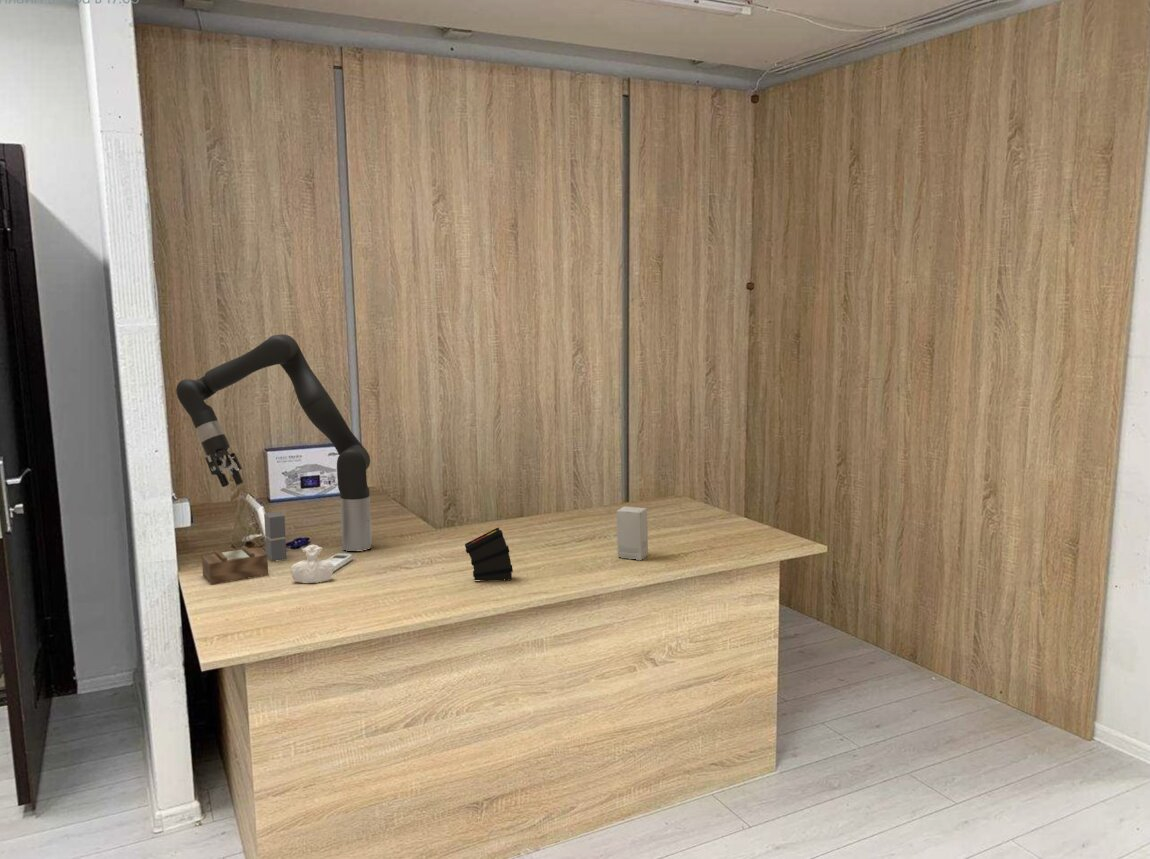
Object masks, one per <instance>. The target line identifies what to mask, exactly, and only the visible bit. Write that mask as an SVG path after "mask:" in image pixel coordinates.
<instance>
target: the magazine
mask: <svg viewBox="0 0 1150 859" xmlns="http://www.w3.org/2000/svg"><path fill="white" fill-rule="evenodd" d="M464 548H465V552H466V554H468V555H469V557H470V559H471V560H470V563H471V566H473V567H472V568H473V571H472V577H473V579H474V580H501V581H509V580H508V579H513V577H512V576H513V574H512V573H513V572H514V570H513V569H514V568H513V564H512V562H511V557H510V547H509V545H507V542H506V540H505V538H504V534H503V531H502V529H500V528H499V527H496V528H494V529H491V530H490V531H488V532H486V533H484V534H482V535H480V536H478V537H475V539H472V540H470V541H468V542H466V543H464ZM504 579H505V580H504Z"/></svg>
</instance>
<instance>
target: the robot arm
mask: <svg viewBox="0 0 1150 859" xmlns="http://www.w3.org/2000/svg"><path fill="white" fill-rule="evenodd" d="M277 365H280V367H281V368H282V369H283V370H284V371H285V373H286V375H287V376H288V377H289V379H290V380H291V383H292V385H293V388H294V392H295V395H296V398H297V400H298V402H299V405H300V407H301V409H302V410H303V412H304V413H305V415H306V416H307V418H308V419H309V421H310V422H311V424H312V425H314V427H315V428H316V429H317V430H319V431H320V432H321V434H323V435H324V436H325V437H326V438H327V440H329V441H330V442H331V444H332V445H333V447H334V448H335V451H336V452H337V453H338V457H337V459H336V460H337V461H336V475H337V488H338V491H339V501H340V503H339V504H340V505H339V506H340V526H341V527H340V528H341V548H342V549H343V550H346V551H345V552H347V551H357V550H364V549H368V548H371V549H372V546H371V545H373V538H372V518H371V503H370V502H371V501H370V495H371V494H370V488H369V486H368V479H367V478H368V477H367V470H368V469H369V468H370V464H371V457H370V454H369V452H368V450H367V449H366V448H365V447H364V446H363V444H362V443H361V442H360V441H359V439H358V438H357V437H356V435H355V434H354V433H353V432H352V430H351V429H350V428H349V425H348V424H347V423H346V420H345V419H344V416H343V415H342V413H341V412H340V410H339V409H338V407H337V406H336V404H335V402H334V400H333V398H331V396H330V394H329V393H328V392H327V390H326V389H325V387H324V386H323V384H322V383H321V381H320V380H319V379H318V377H317V376H316V374H315V373H314V372H313V370H312V369H311V367H310V366H309V364H308V362H307V360H306V358H305V356H304V354H303V352H302V350H301V348H300V346H299V344H298V342H297V341H296V340H295V339H294V338H293V337H292V336H290V335H288V334H283V333H282V334H275V335H272V336H271V335H270V336H269V337H268V338H267V339H265V340H264V341H262V342H261V343H260V344H258V345H257V346H256V347H254V348H252V349H251V350H250V351H247V352H246V353H244V354H243V355H239V356H237V357H236V358H233V359H231V360H229V361H228V360H227V361H226V362H224V363H222V364H220V365H218V366H215V367H213V368H211V369H208V371H206V372H205V373H204V374H203V375H204V376H202V377H200V378H198V379H196V380H195V379H190V378H189V379H187V378H185V379H181V381H179V382H178V383H177V385H176V388H175V392H176V396H177V399H178V400H179V402H180V404H181V405H182V407H183V409H184V410H185V411H186V413H187V414H188V415H189V416H190V418H191V419H190V420H191V421H192V424H193V426H194V428H195V431H196V434H197V437H198V440H199V442H200V444H201V446H202V449H203V451H204V453H205V455H206V457H205V458H204V459H205V461H206V464H207V466H208V468H209V472H210V474H211V475H212V476H214V475H215V477H217V478H218V481H219V483H220V485H221V487H222V488H225V487H228V486H229V484H230V483H229V480H228V478H227V476H226V473H225V470H226V471H228V472H229V473H230V474H232V475H231V476H232V478H233V480H234V483H235V485H236V486H237V485H241V484H243V482H244V480H243V478H242V476H241V474H240V470H242V469H243V468H242V465H241V464H240V461H239V459H238V456H237V454H236V452H231V453H229V451H228V450H229V449H230V446H231V445H230V443H229V441H228V438H227V437H226V436H227V435H226V434H225V431H224V429H223V427H222V425H221V423H220V422H219V420H218V417H217V415H216V413H215V411H214V409H213V407H211V405H208V404H207V403H206V402H205V400H207V399H209V398H211V397H212V396H213V395H215V394H216V393H218V392H219V391H221V390H223V389H225V388H227V387H230V386H233V385H234V384H236V383H237V382H239V381H241V380H243V379H245V378H246V377H249V376H250V375H252V374H253V373H255V372H257V371H259V370H262V369H266V368H268V367H273V366H277ZM342 549H341V550H342ZM343 550H342V551H343Z"/></svg>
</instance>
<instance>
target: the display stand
mask: <svg viewBox="0 0 1150 859" xmlns="http://www.w3.org/2000/svg"><path fill="white" fill-rule="evenodd" d="M268 562H269V559H268V558H267V554H266V552H265V551H264V550H262V549H260V548H259V547H250V548H249V547H248V546H246V545H241V549H236V550H228V551H222V552H221V550H219V549H217V550H213V553H210V554H207V555H206V554H205V555H201V567H202V577H203V578H205V579H207V580H208V581H207V582H208V583H209V584H210V585H215V584H221V582H223V583H227V582H226V581H229V582H232V581H231V580H235V581H238V580H237V579H240V580H244V579H243V578H246V579H249V578H248V577H252V578H256V577H255V576H258V577H262V576H261V575H264V576H268V575H269V563H268Z"/></svg>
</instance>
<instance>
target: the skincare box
mask: <svg viewBox="0 0 1150 859" xmlns="http://www.w3.org/2000/svg"><path fill="white" fill-rule="evenodd" d="M648 532H649V531H648V508H647V507H638V506H637V507H636V506H625V505H624V506H622V507H621V508H619V509H618V510H616V537H617V538H616V539H617V540H616V541H617V542H616V543H617V544H616V545H617V558H618V557H622V558H629V559H628V560H631V559H636V560H635V561H640V560H641V561H643V560H644V559H646V558H647V557H648V556H649V546H648V545H649V544H648V543H649V539H648ZM647 555H648V556H647ZM646 556H647V557H646ZM622 558H621V559H622ZM642 559H643V560H642Z"/></svg>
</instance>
